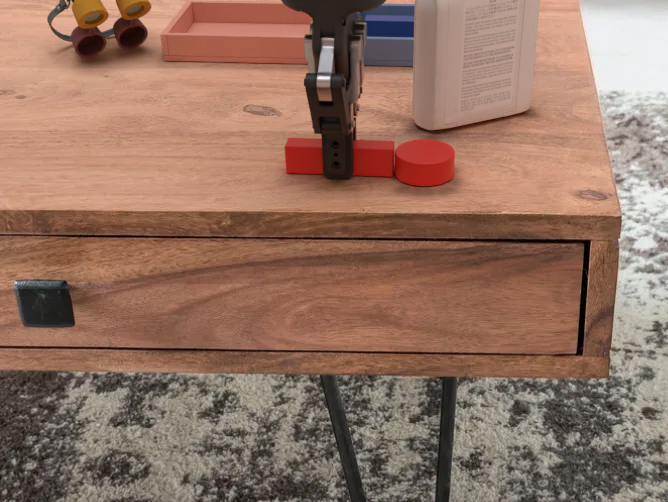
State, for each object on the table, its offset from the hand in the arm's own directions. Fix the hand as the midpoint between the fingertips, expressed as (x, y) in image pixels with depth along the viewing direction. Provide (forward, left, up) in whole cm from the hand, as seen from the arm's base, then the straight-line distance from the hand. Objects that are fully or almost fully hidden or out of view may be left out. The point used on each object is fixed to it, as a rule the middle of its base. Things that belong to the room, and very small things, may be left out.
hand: (340, 170), depth 79 cm
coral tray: (-12, +27, 0) cm, 29 cm away
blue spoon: (+5, +27, 0) cm, 28 cm away
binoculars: (-26, +24, 0) cm, 35 cm away
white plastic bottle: (+9, +11, 0) cm, 15 cm away
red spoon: (+2, 0, 0) cm, 3 cm away
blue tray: (+5, +27, 0) cm, 28 cm away
